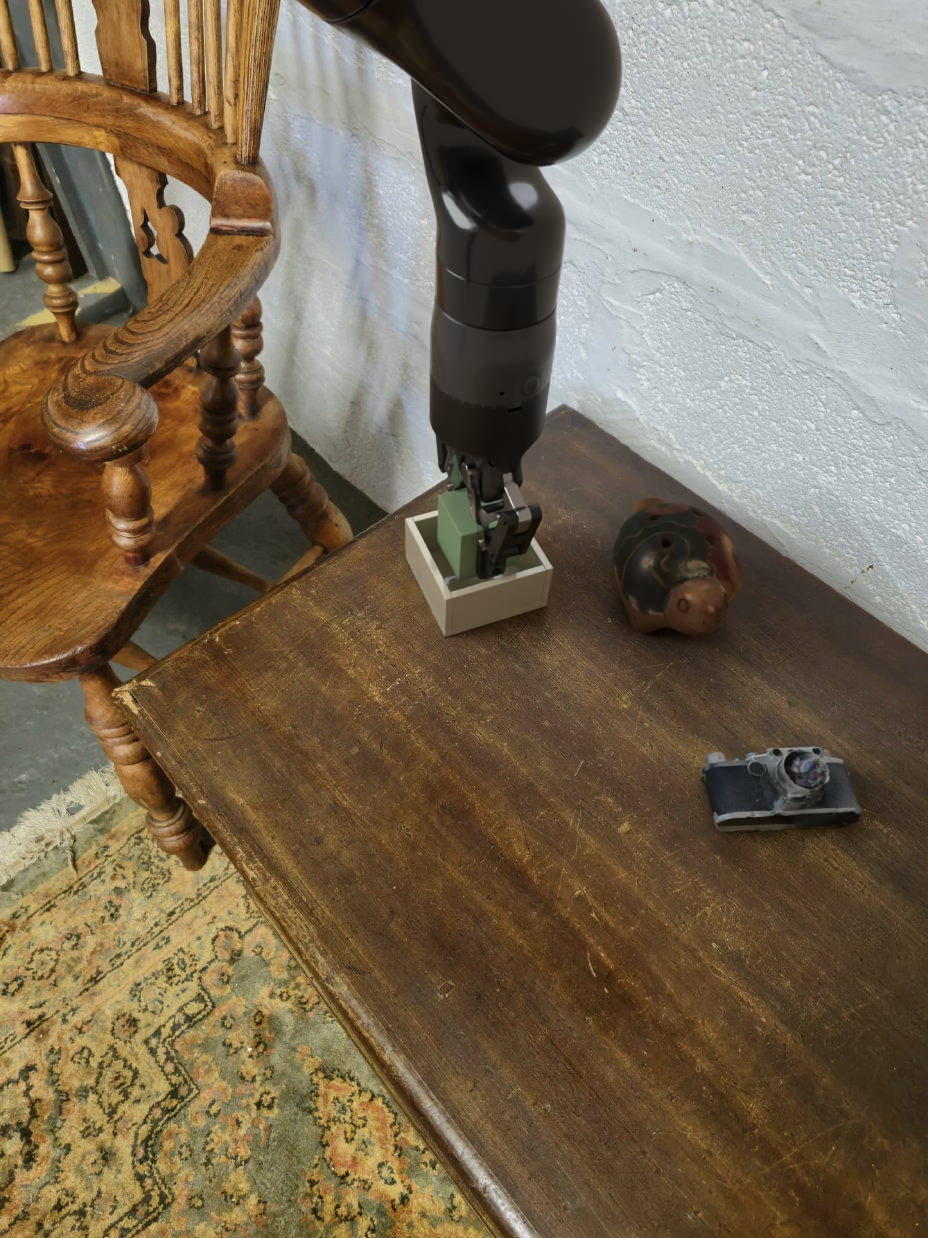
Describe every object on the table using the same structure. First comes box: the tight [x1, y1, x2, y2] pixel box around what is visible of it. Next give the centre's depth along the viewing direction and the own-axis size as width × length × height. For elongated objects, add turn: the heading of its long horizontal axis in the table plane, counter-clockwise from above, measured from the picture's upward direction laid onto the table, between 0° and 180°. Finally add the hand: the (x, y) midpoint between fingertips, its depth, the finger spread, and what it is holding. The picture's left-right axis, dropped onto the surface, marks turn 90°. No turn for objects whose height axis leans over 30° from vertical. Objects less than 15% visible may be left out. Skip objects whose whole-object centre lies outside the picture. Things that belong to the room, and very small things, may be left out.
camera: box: [699, 746, 863, 833], centre depth 56 cm, size 5×10×4 cm, turn 93°
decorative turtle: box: [611, 496, 742, 636], centre depth 65 cm, size 10×15×8 cm, turn 12°
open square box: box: [404, 509, 554, 638], centre depth 66 cm, size 9×9×5 cm
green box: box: [437, 487, 520, 581], centre depth 64 cm, size 5×4×5 cm
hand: (477, 549), depth 65 cm, fingers closed on green box, 4 cm apart
